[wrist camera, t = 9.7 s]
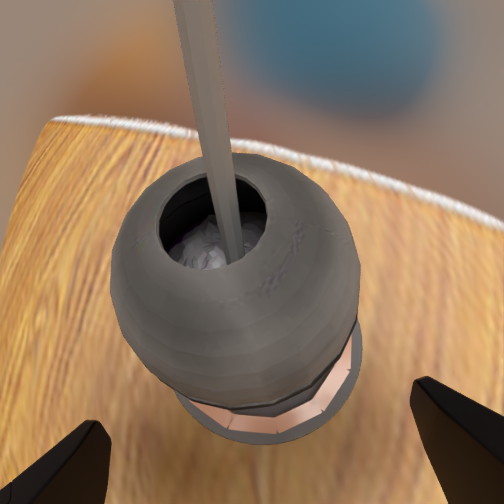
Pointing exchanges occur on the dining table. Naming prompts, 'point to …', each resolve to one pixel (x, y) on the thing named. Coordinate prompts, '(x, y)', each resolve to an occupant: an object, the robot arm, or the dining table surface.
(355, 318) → the beverage cup
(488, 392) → the dining table surface
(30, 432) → the dining table surface
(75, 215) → the dining table surface
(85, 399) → the dining table surface
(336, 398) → the cup holder
